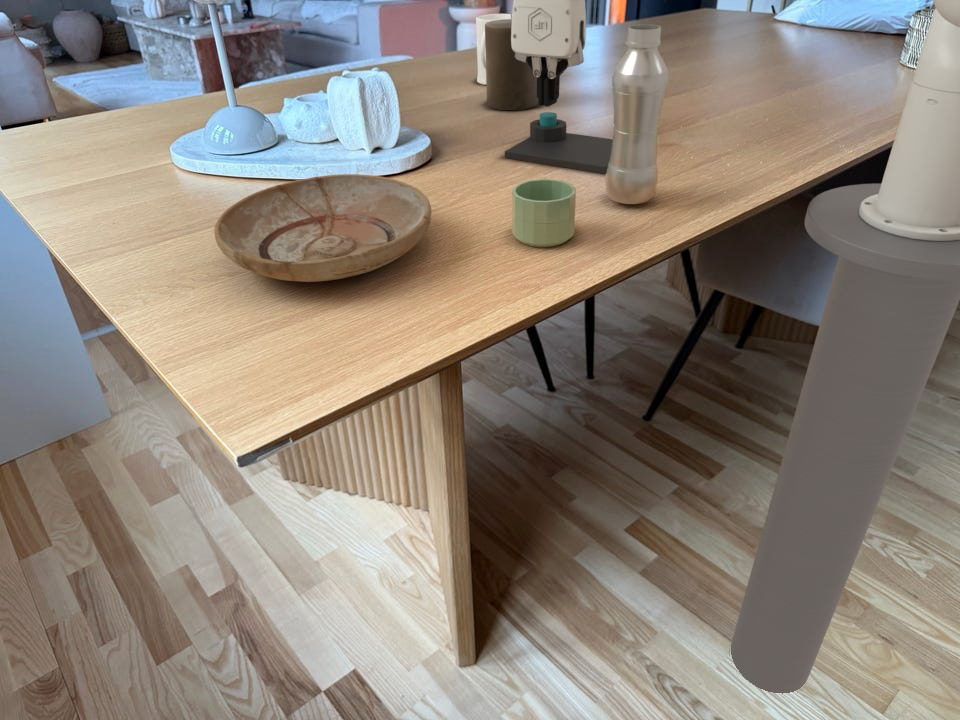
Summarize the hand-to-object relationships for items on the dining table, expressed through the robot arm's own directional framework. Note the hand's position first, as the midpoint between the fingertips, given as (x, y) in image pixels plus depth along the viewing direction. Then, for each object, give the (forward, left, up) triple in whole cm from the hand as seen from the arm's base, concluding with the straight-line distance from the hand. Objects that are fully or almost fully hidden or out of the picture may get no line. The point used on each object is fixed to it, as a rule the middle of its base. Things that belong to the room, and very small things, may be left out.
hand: (547, 103), depth 105 cm
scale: (-6, +3, -6) cm, 9 cm away
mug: (+28, -31, -6) cm, 42 cm away
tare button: (0, 0, -3) cm, 3 cm away
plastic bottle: (-20, +17, -6) cm, 27 cm away
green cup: (-16, +31, -6) cm, 35 cm away
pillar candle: (+16, -18, -6) cm, 25 cm away
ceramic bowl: (+3, +46, -6) cm, 47 cm away
